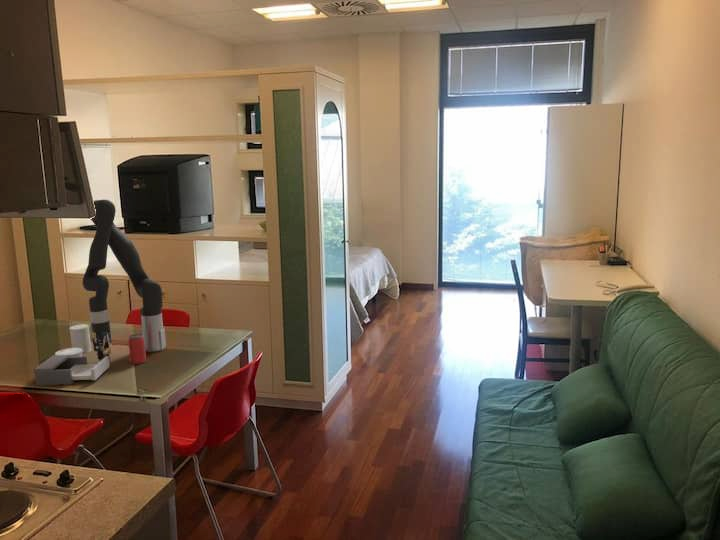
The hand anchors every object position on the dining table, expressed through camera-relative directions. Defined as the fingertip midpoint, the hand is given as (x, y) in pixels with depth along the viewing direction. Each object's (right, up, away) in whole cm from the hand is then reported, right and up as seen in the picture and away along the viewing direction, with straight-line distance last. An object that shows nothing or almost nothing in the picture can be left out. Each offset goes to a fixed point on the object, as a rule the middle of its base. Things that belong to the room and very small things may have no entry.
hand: (104, 356), depth 260 cm
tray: (-2, -5, -13) cm, 14 cm away
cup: (-19, -1, +19) cm, 26 cm away
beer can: (+14, -3, +3) cm, 15 cm away
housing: (-11, -7, -13) cm, 19 cm away
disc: (0, +1, 0) cm, 1 cm away
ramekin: (-17, -4, +4) cm, 18 cm away
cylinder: (0, -4, +1) cm, 4 cm away
